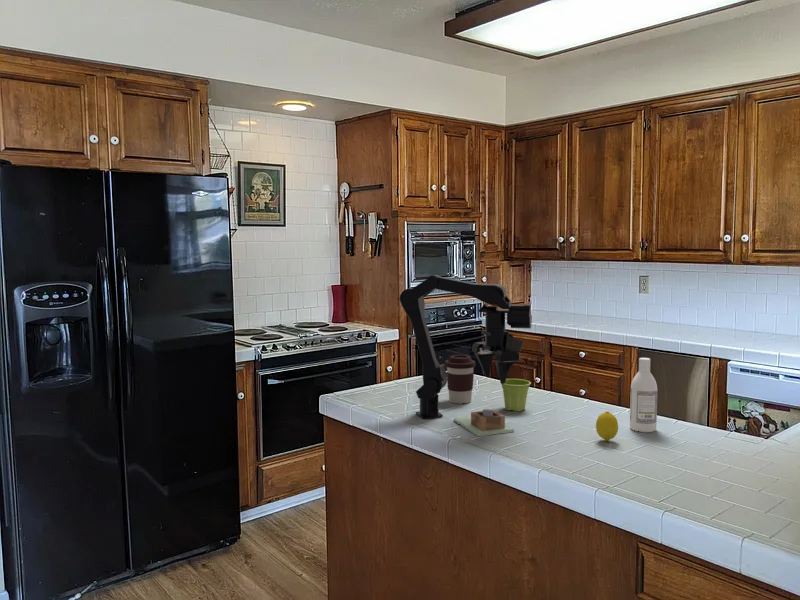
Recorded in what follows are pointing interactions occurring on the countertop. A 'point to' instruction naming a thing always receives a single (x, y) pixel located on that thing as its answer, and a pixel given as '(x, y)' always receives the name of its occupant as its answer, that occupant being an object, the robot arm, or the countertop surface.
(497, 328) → the robot arm
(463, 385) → the coffee cup
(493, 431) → the keeper board
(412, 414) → the countertop surface
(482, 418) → the link
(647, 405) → the bath foam
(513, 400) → the plant pot
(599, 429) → the lemon
